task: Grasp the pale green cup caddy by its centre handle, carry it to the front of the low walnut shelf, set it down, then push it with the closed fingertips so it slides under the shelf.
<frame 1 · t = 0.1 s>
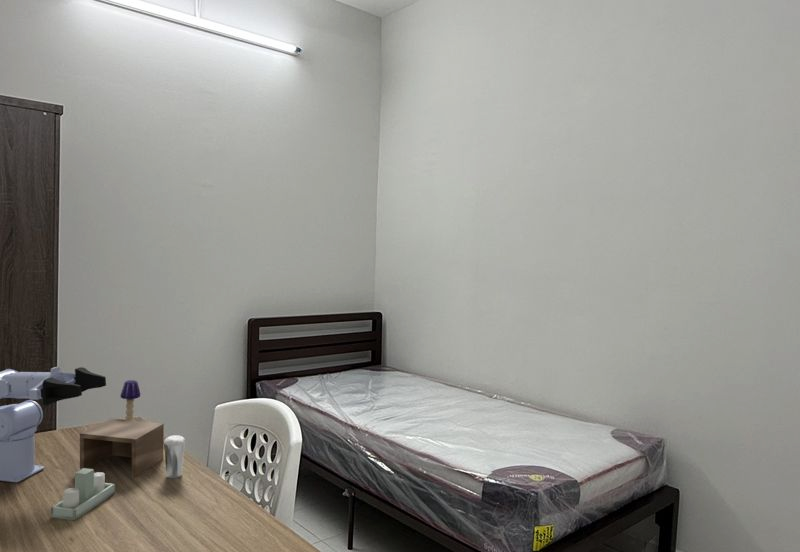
hand: (93, 386, 125), 22 cm above the table, tool horizontal, fingers open, 7 cm apart
caddy: (84, 504, 117), on the table
milkshake: (175, 476, 132), on the table
shelf: (122, 464, 137), on the table
toy lamp: (129, 445, 149), on the table
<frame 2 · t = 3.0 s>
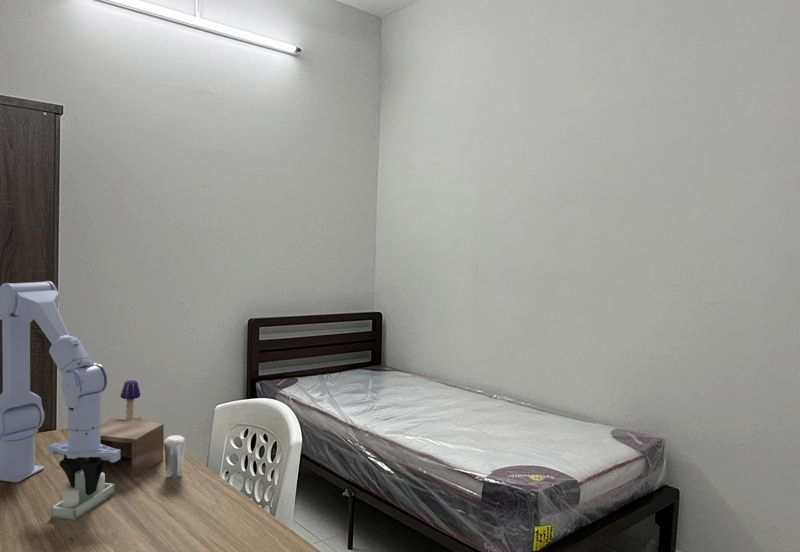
hand: (84, 492, 117), 3 cm above the table, tool pointing down, fingers closed on caddy, 2 cm apart
caddy: (84, 504, 117), on the table, touching gripper
everything else where it was.
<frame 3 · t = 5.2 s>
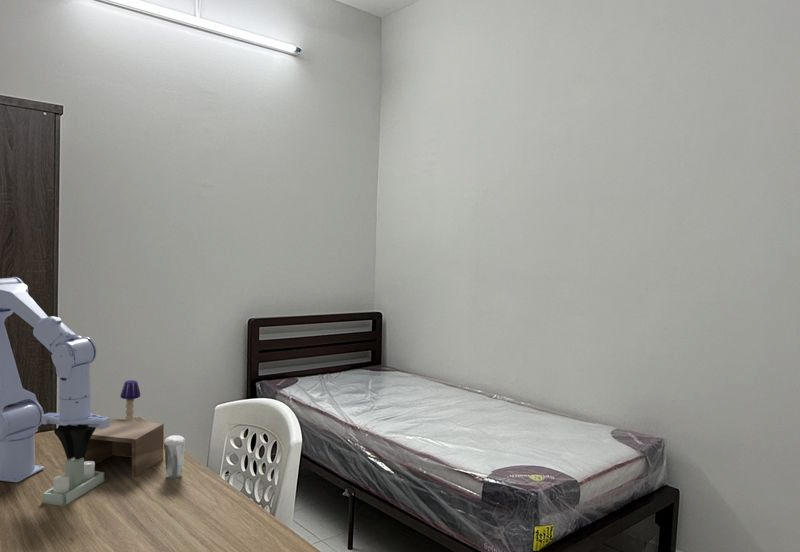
hand: (76, 458, 123), 7 cm above the table, tool pointing down, fingers closed, pressing on caddy
caddy: (74, 491, 123), on the table, touching gripper
everything else where it was.
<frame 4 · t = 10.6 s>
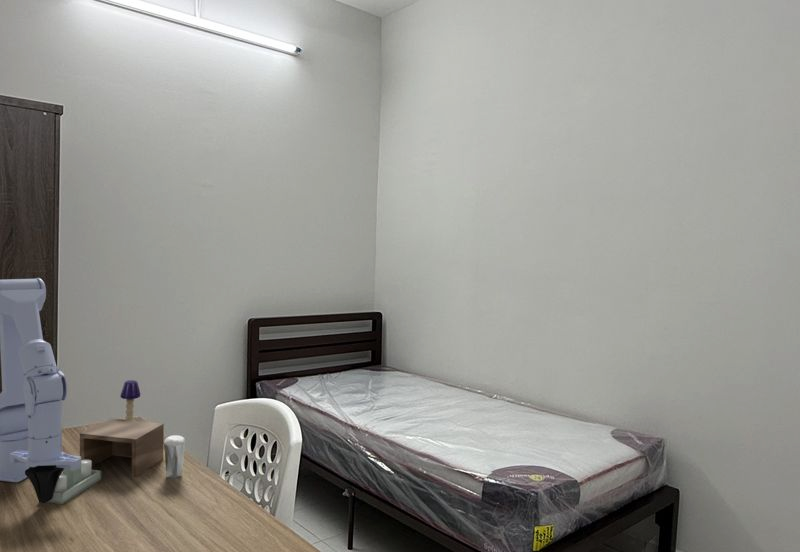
hand: (45, 500, 116), 1 cm above the table, tool pointing down, fingers closed, pressing on caddy
caddy: (72, 490, 123), on the table, touching gripper
everything else where it was.
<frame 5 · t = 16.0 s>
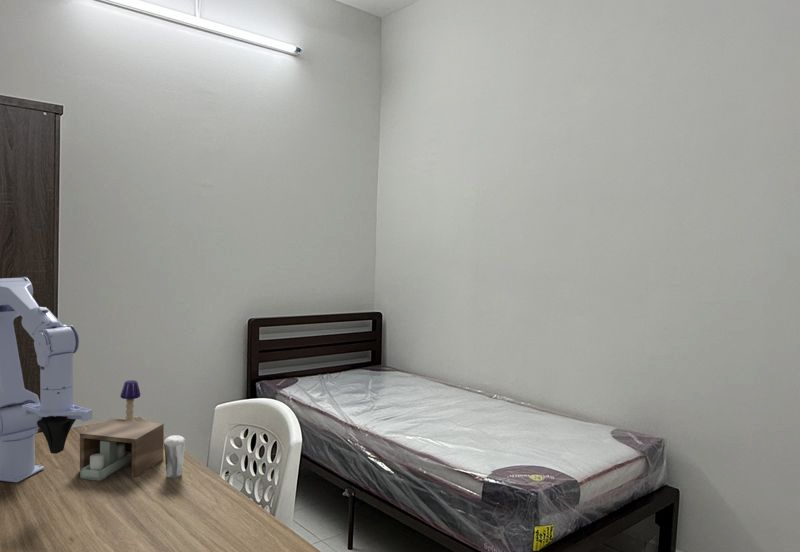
hand: (57, 451, 118), 10 cm above the table, tool pointing down, fingers closed
caddy: (108, 468, 134), on the table
everything else where it was.
at the end: caddy inside the target area on the shelf (1.8 cm from its centre), point 0.0 cm above the shelf's base; caddy tilted 0° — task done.
